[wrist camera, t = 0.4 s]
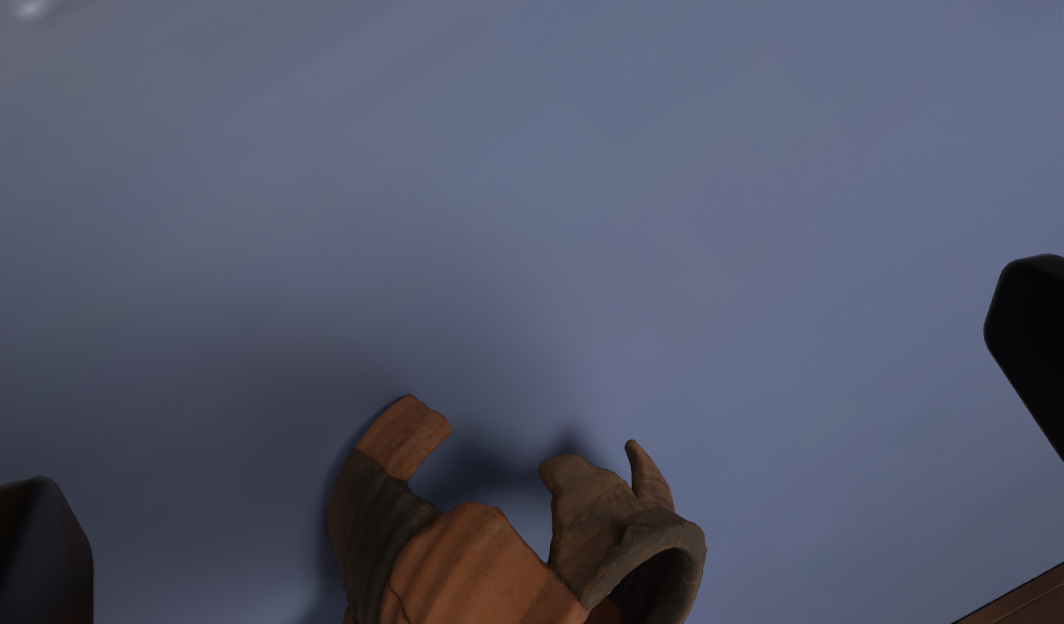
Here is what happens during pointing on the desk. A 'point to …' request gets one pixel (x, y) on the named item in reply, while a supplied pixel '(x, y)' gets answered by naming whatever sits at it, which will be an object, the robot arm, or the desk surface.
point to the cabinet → (1027, 603)
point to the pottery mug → (506, 541)
